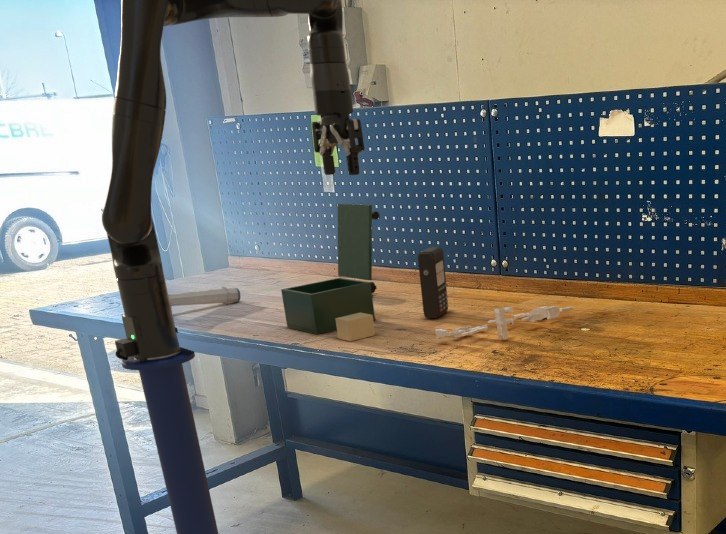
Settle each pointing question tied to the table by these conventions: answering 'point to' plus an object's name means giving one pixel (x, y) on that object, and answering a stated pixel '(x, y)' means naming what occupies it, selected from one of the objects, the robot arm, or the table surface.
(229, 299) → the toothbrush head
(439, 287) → the card reader
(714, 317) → the table surface
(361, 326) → the beige rectangular block
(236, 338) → the table surface
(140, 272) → the robot arm
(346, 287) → the bin
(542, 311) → the grey elongated piece
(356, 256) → the bin lid
